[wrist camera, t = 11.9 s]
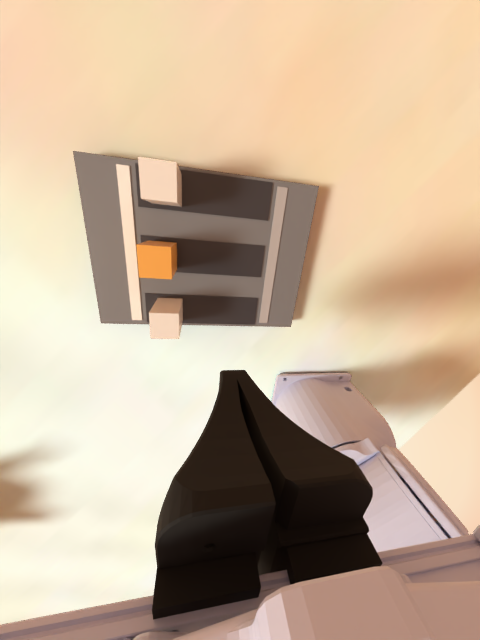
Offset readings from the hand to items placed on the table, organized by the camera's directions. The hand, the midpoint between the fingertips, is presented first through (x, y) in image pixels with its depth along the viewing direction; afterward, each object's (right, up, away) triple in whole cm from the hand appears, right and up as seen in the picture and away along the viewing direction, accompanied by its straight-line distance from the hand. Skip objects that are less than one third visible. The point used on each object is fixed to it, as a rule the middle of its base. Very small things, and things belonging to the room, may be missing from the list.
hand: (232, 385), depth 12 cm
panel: (-3, +9, +7) cm, 12 cm away
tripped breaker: (-5, +9, +5) cm, 11 cm away
